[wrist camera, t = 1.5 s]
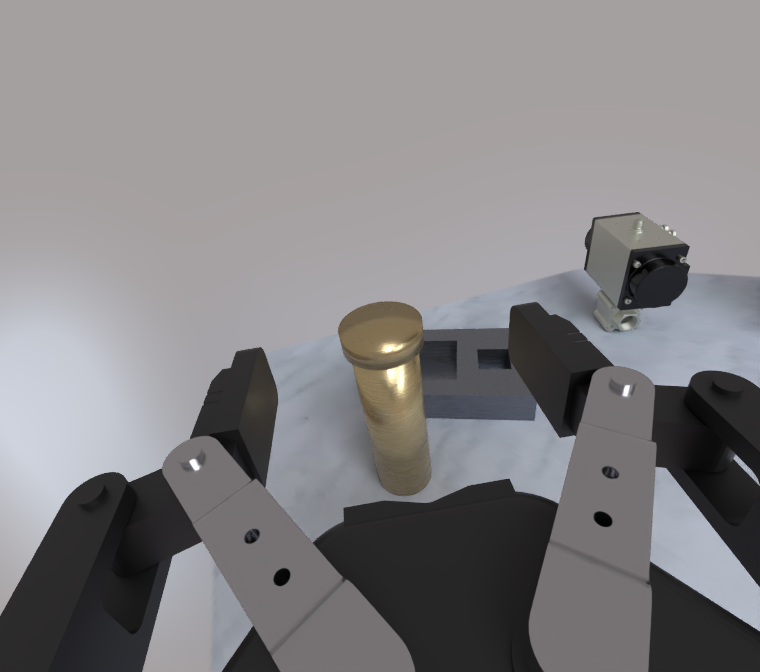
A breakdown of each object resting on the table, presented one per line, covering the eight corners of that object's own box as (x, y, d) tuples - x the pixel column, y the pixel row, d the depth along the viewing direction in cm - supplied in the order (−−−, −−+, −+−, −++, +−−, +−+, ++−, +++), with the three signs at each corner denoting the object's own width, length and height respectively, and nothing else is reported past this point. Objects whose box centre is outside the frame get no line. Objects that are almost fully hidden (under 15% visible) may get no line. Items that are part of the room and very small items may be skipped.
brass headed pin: (437, 447, 35) (425, 300, 26) (434, 502, 31) (418, 349, 22) (379, 445, 36) (348, 302, 27) (368, 498, 32) (328, 350, 23)
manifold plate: (521, 350, 44) (522, 328, 42) (534, 420, 36) (537, 396, 34) (394, 351, 47) (391, 330, 45) (380, 416, 39) (376, 394, 37)
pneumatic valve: (616, 357, 41) (645, 247, 34) (573, 298, 50) (589, 202, 44) (674, 351, 40) (715, 239, 34) (619, 293, 50) (643, 196, 43)
